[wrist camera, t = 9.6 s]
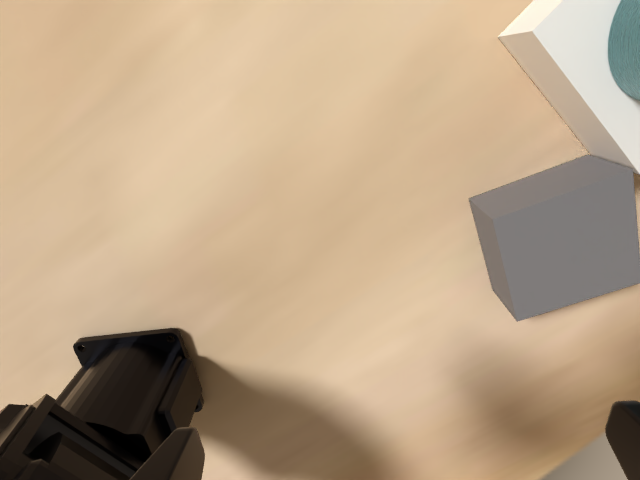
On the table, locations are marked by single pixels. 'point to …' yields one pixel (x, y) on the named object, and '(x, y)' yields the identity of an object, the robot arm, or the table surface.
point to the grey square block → (560, 235)
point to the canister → (626, 47)
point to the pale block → (578, 73)
